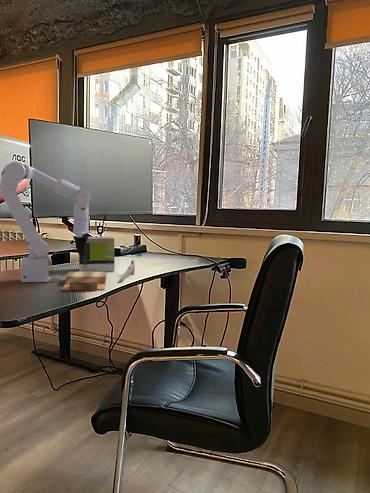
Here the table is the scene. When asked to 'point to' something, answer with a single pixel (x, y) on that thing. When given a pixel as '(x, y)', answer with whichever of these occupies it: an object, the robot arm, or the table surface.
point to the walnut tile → (83, 284)
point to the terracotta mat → (100, 287)
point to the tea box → (97, 255)
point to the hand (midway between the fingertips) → (81, 254)
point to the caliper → (128, 271)
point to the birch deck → (87, 276)
